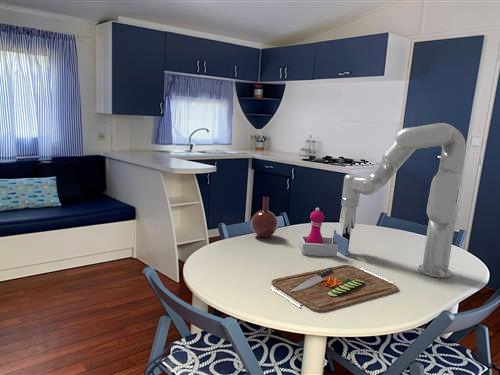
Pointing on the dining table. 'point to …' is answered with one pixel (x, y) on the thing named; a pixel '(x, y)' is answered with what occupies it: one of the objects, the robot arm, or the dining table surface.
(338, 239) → the panel
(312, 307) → the chopping board
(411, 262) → the dining table surface
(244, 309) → the dining table surface
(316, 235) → the pepper mill
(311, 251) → the grey open box
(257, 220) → the round-bottom flask
